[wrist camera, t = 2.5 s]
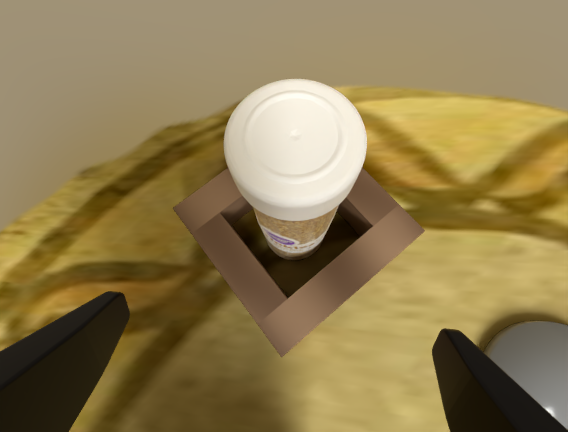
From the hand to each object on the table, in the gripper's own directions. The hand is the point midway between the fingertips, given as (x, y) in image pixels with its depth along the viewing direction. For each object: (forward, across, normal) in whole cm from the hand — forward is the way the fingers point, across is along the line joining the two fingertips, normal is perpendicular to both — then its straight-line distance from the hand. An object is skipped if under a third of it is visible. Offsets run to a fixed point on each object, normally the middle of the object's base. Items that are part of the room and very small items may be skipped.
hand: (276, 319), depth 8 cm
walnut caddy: (+13, 0, +5) cm, 14 cm away
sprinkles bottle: (+13, 0, +5) cm, 14 cm away
